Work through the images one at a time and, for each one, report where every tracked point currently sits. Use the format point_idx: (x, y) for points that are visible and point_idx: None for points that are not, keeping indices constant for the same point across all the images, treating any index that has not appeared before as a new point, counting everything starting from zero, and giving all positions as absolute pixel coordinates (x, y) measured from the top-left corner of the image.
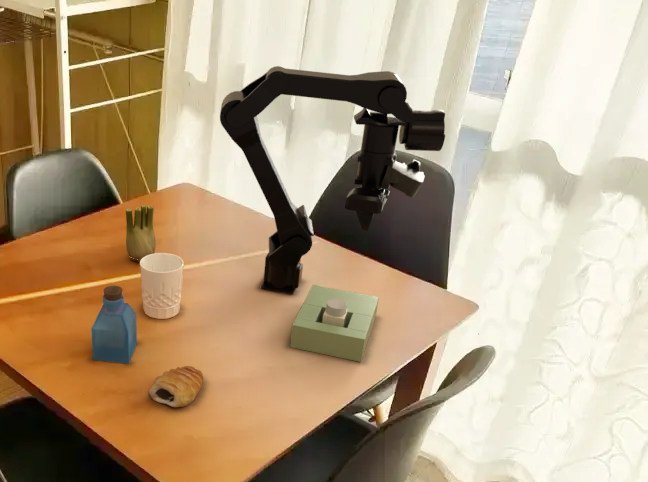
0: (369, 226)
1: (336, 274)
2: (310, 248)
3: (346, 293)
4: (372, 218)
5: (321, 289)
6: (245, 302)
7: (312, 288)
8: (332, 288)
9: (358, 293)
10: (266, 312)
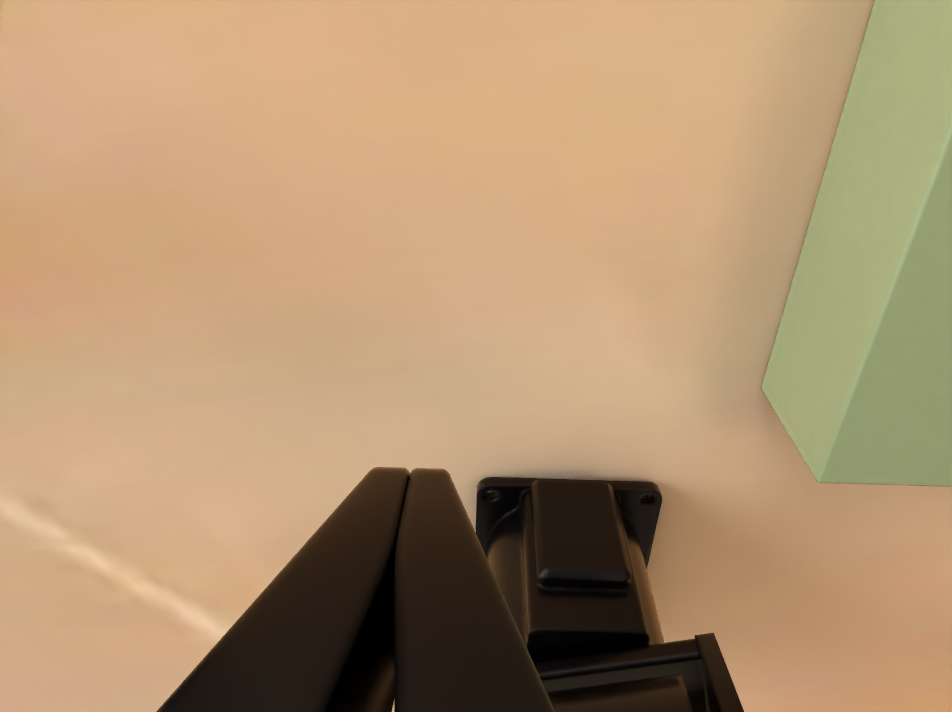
0: (452, 521)
1: (303, 318)
2: (689, 706)
3: (949, 265)
4: (472, 671)
5: (886, 429)
6: (772, 620)
7: (877, 477)
8: (863, 368)
9: (944, 172)
10: (860, 542)
